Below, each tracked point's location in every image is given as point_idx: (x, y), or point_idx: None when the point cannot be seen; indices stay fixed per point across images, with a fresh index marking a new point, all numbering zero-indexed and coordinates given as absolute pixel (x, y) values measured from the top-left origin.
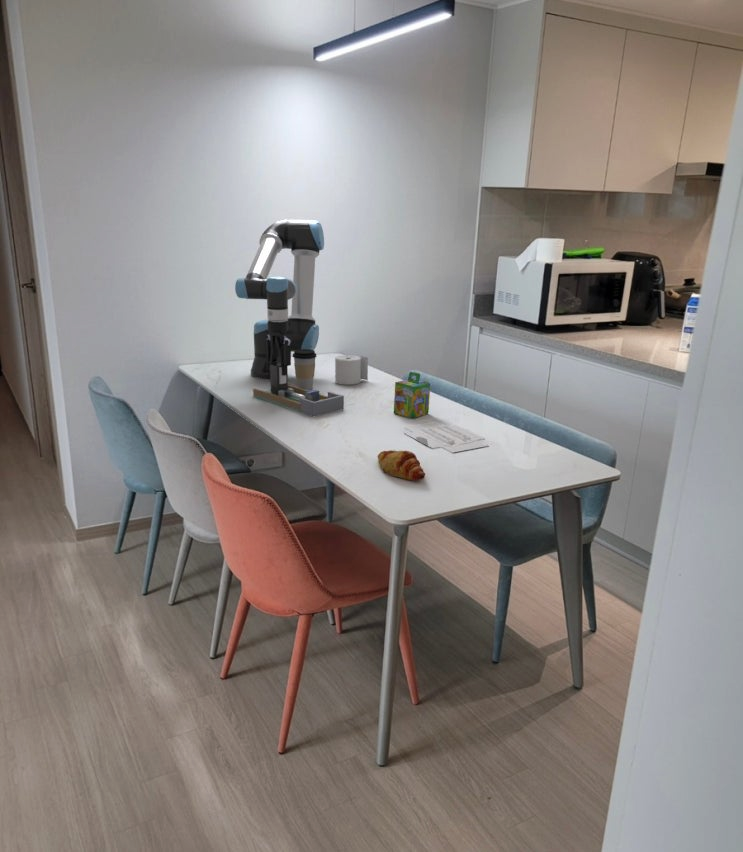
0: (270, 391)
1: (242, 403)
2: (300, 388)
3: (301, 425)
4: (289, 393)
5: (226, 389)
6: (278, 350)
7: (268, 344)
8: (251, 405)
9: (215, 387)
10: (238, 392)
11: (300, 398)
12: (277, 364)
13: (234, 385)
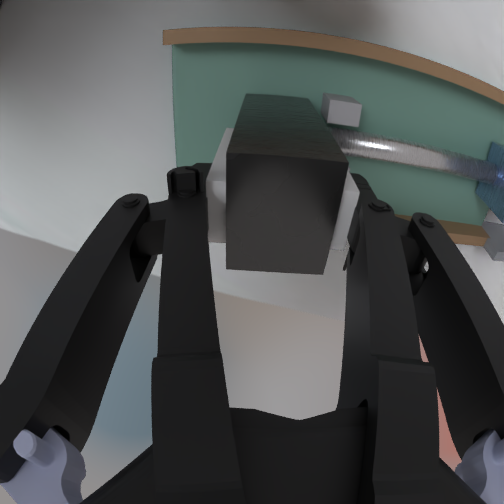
0: (197, 127)
1: (242, 281)
2: (359, 47)
3: (499, 292)
4: (377, 159)
5: (49, 217)
6: (340, 385)
7: (94, 400)
8: (286, 276)
9: (20, 227)
10: (99, 209)
11: (494, 259)
12: (274, 230)
13: (14, 168)
